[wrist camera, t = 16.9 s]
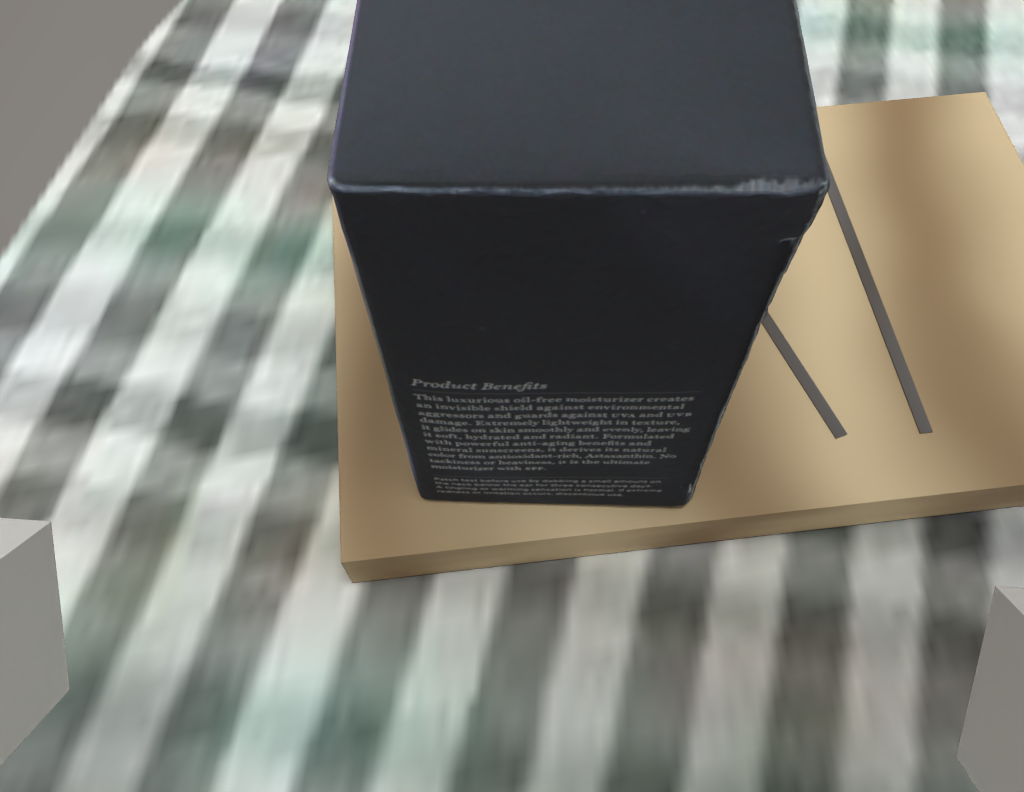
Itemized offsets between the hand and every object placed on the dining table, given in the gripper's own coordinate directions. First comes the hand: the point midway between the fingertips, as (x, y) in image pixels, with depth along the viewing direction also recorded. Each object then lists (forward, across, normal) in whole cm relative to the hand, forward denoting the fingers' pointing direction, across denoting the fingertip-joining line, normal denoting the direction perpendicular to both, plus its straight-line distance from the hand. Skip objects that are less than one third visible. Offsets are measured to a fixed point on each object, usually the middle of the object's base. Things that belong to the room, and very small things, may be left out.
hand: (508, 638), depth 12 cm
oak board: (+12, +4, +2) cm, 13 cm away
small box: (+11, 0, +3) cm, 11 cm away
